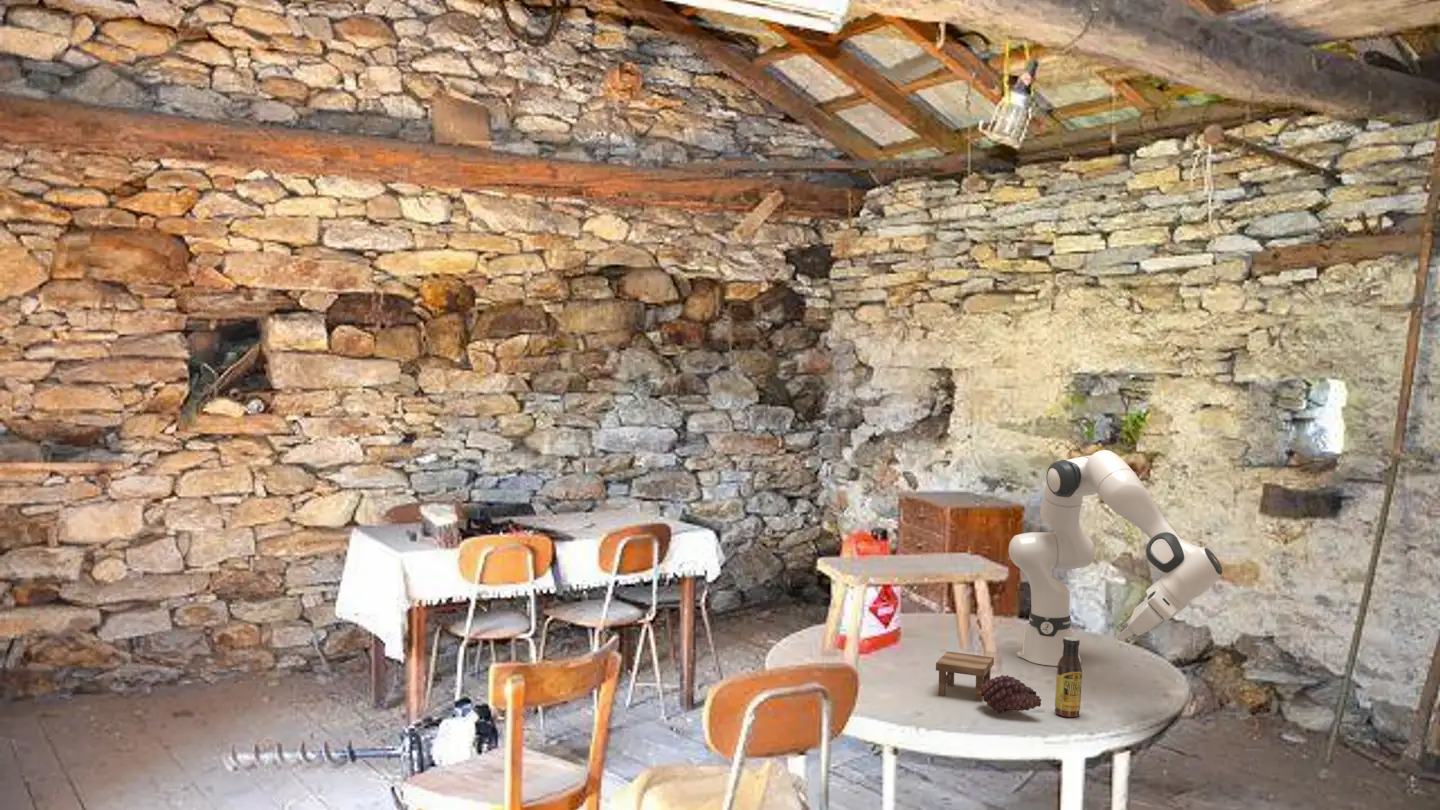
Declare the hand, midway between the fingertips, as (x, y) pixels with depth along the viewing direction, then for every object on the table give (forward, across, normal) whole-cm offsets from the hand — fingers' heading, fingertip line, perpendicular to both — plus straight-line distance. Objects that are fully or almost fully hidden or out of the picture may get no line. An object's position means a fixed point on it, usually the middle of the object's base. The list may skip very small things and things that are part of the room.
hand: (1121, 634), depth 278 cm
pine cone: (+35, +7, -3) cm, 36 cm away
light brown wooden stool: (+44, -6, -13) cm, 47 cm away
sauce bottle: (+25, 0, +7) cm, 26 cm away
